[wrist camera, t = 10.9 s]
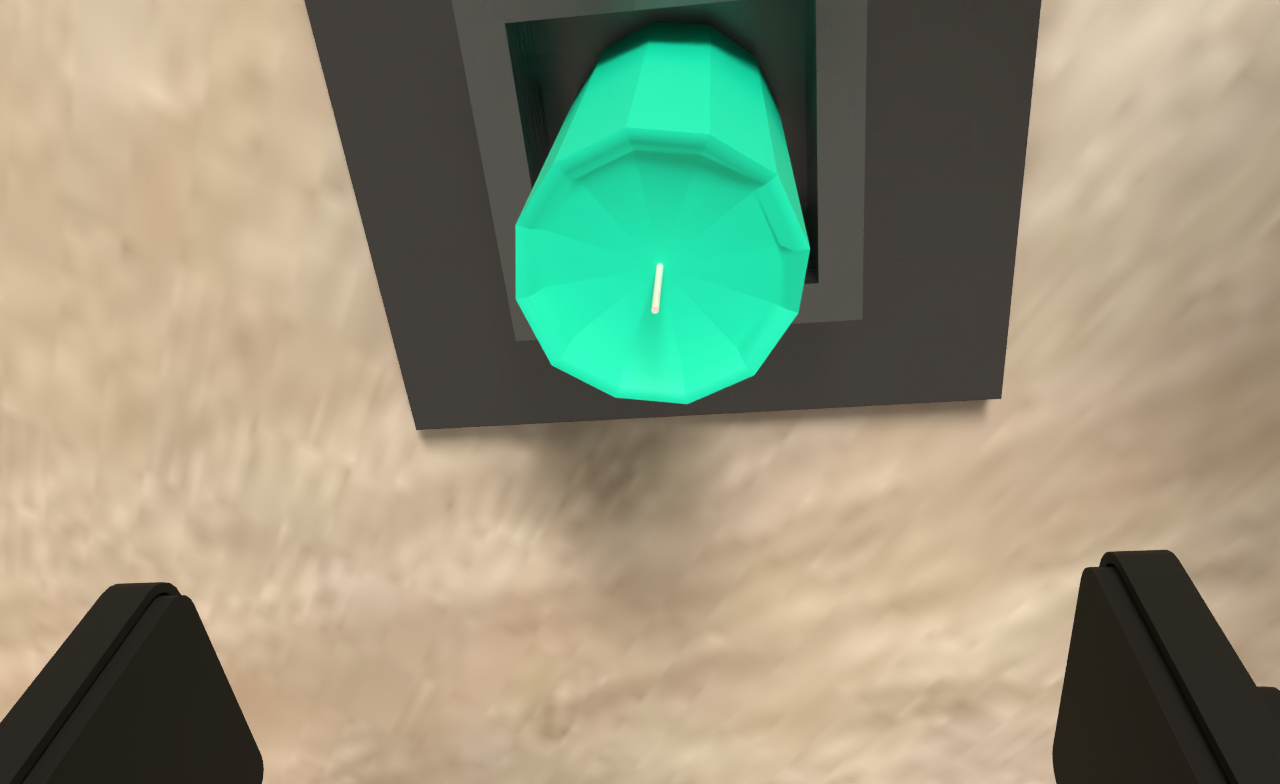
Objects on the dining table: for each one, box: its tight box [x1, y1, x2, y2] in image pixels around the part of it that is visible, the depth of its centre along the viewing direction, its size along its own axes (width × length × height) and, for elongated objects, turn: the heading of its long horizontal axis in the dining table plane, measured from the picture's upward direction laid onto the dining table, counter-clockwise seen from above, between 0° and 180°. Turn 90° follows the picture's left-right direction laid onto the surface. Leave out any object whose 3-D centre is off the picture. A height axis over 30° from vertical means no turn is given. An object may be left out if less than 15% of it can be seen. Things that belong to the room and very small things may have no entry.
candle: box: [515, 22, 810, 404], centre depth 23 cm, size 6×6×12 cm
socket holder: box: [305, 0, 1041, 430], centre depth 27 cm, size 20×20×4 cm
